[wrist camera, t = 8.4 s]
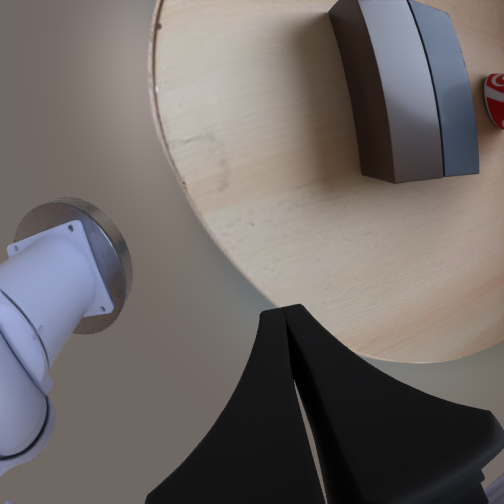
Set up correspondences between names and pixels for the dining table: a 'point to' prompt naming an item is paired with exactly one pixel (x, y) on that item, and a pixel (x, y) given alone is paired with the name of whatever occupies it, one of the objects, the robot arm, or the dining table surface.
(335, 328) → the dining table surface
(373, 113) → the walnut bar
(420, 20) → the slate bar
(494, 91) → the beverage can
